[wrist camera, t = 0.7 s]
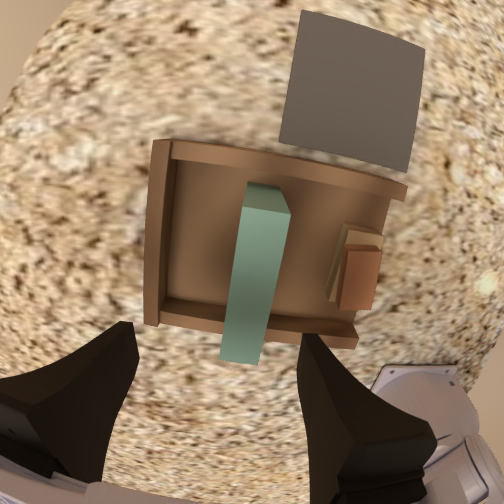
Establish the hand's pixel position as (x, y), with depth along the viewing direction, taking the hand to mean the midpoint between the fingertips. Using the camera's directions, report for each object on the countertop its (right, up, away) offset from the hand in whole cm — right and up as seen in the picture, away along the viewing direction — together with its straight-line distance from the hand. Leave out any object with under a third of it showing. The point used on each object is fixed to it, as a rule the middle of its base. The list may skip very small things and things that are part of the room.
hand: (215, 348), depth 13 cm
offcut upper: (+8, +3, +7) cm, 11 cm away
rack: (+3, +5, +9) cm, 10 cm away
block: (+2, +5, +8) cm, 9 cm away
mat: (+8, +15, +5) cm, 17 cm away
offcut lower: (+8, +3, +8) cm, 12 cm away
